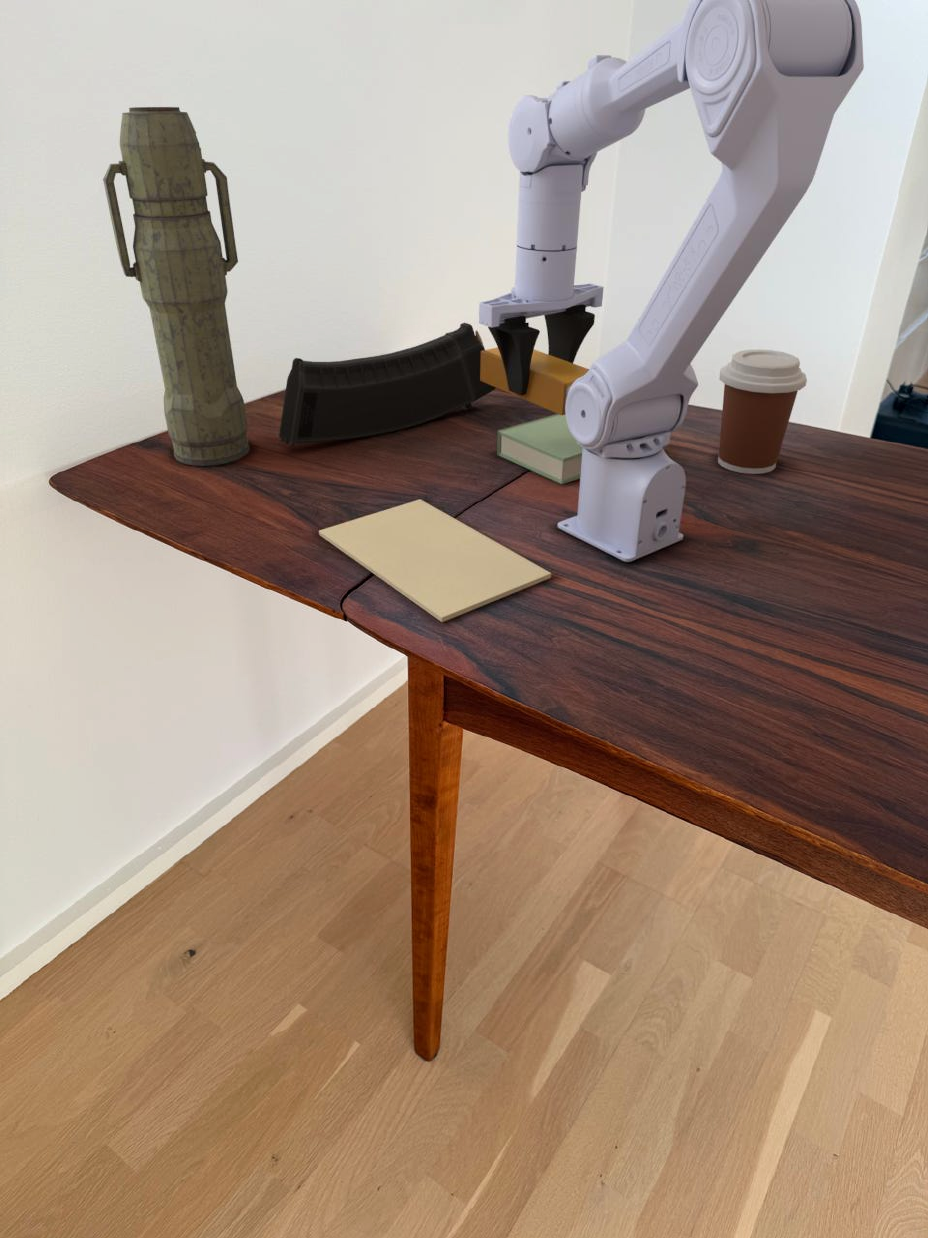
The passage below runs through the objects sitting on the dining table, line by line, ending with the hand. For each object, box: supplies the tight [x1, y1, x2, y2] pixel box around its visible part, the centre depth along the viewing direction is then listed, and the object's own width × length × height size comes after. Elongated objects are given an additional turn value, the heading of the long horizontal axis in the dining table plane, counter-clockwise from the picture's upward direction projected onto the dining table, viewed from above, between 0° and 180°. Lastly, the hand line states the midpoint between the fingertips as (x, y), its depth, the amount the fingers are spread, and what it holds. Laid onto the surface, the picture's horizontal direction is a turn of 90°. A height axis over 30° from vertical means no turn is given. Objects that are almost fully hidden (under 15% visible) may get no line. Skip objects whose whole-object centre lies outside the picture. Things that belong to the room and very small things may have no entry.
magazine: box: [278, 322, 497, 446], centre depth 105 cm, size 17×3×30 cm
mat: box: [318, 498, 552, 623], centre depth 78 cm, size 20×12×1 cm, turn 38°
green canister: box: [102, 106, 250, 467], centre depth 91 cm, size 9×12×35 cm
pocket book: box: [480, 346, 590, 415], centre depth 87 cm, size 13×5×3 cm, turn 37°
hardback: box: [496, 413, 583, 485], centre depth 99 cm, size 16×11×3 cm
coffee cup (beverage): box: [717, 349, 808, 475], centre depth 94 cm, size 9×9×12 cm
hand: (538, 387), depth 88 cm, fingers closed on pocket book, 5 cm apart
